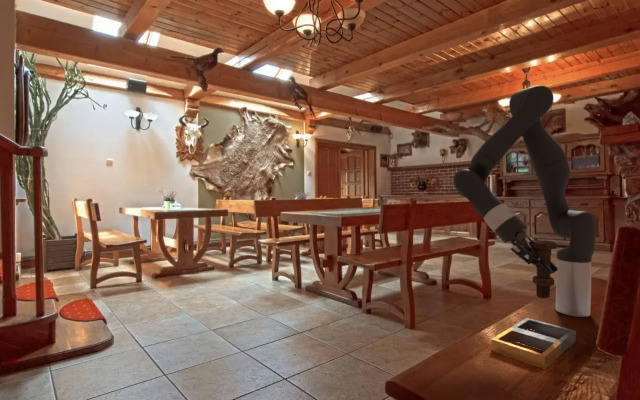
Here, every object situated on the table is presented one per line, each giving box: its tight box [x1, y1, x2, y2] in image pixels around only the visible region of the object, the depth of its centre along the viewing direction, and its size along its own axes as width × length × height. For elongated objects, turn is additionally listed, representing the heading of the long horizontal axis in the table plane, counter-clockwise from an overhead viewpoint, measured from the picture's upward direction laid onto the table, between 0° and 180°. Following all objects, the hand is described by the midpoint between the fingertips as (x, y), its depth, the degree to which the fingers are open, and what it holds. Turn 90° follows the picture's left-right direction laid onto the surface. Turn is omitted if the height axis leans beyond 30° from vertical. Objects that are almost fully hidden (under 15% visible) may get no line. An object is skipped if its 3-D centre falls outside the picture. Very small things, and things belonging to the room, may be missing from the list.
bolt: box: [531, 239, 558, 299], centre depth 95 cm, size 6×5×15 cm
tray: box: [490, 317, 577, 370], centre depth 92 cm, size 22×12×3 cm, turn 129°
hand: (552, 272), depth 93 cm, fingers closed on bolt, 3 cm apart
